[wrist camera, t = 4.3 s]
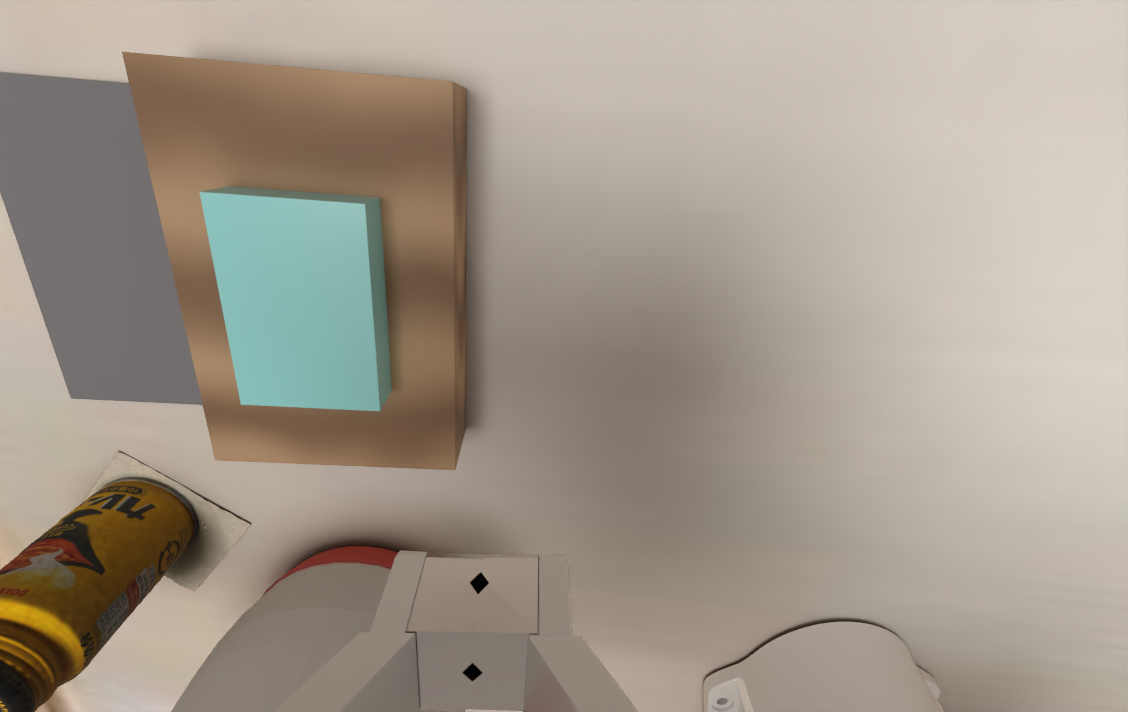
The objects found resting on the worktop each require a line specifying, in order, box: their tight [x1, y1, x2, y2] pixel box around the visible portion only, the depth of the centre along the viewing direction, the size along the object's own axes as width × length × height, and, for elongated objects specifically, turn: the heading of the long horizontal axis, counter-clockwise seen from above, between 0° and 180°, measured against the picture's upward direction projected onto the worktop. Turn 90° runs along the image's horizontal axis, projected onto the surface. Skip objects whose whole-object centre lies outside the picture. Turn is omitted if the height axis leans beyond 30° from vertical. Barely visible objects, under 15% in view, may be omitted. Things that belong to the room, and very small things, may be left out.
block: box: [199, 186, 392, 411], centre depth 22 cm, size 9×6×2 cm, turn 175°
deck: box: [122, 52, 466, 470], centre depth 25 cm, size 18×12×4 cm, turn 176°
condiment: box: [0, 452, 251, 712], centre depth 27 cm, size 7×8×12 cm
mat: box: [0, 73, 203, 405], centre depth 26 cm, size 16×9×1 cm, turn 176°
